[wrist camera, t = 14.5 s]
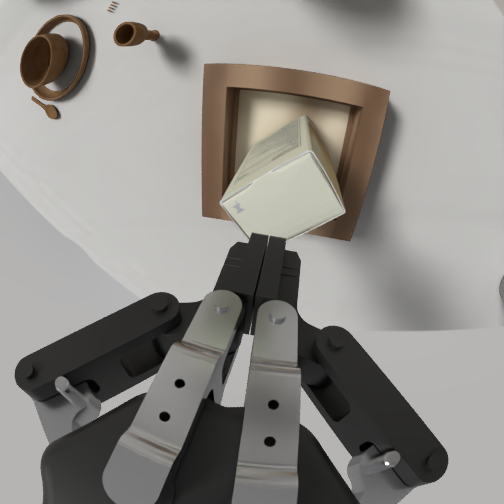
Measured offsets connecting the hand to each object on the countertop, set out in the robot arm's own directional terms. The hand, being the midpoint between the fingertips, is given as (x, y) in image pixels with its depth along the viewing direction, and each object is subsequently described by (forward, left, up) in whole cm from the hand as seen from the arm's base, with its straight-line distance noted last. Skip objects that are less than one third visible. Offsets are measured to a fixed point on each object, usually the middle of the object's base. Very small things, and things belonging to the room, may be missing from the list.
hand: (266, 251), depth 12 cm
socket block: (0, 0, -17) cm, 17 cm away
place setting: (+25, -10, -18) cm, 33 cm away
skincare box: (0, 0, -16) cm, 16 cm away
